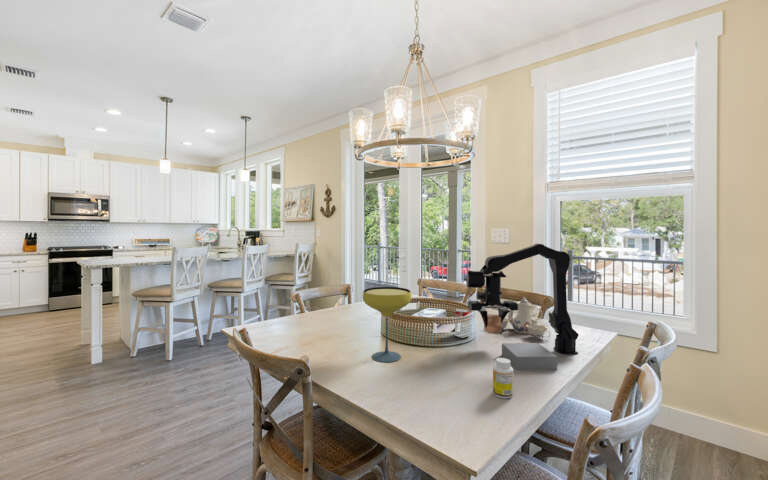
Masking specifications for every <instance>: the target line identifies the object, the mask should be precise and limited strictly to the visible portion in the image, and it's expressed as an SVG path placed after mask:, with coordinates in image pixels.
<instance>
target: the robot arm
mask: <svg viewBox="0 0 768 480" xmlns="http://www.w3.org/2000/svg"><path fill="white" fill-rule="evenodd" d="M537 255H540V256H541V257H543V258H545V259H547V260H548V264H549V267H550V269H551V272H552V280H553V281H552V282H553V283H552V284H553V286H552V287H553V291H552V292H553V310H552V312H548V318H549V319H548V323H549V324H550V326H551V328H553V330H554V332H555V333H556V334H555V339H554V347H553V350H554V351H556V352H558V353H560V354H561V355H578V354H579V352H578V351H577V350H576V345H577V344H576V341H577V340H578V337H579V333H578V332H577V331H576V330H575V329H574V328H573V324H572V320H571V317H570V314H569V312H568V304H567V303H568V302H567V300H568V299H567V297H568V296H567V272H568V271H569V268H570V263H571V256H570V254H569V253H568V252H566V251H562V250H555V249H553V248H551V247H548V246H547V245H545V244H543V243H535V244H533V245H530V246H528V247H524V248H522V249H518V250H515V251H513V252H509V253H506V254H497V255H492V256H491V255H490V256H488V257H486V258H485V261H484V264H483V266H482V267H481V269H479V270H475V271H474V270H467V274H466V278H465V282H466V283H465V285H466V288H468V289H469V288H470V289H471V288H472V289H473V288H474V289H476V288H477V289H482V288H483V287H484V286H485V289H484V292H483V291H476V300H469V301H468V302H467V308H468V309H469V310H471V311H472V312H473V311H477V312H478V313H480V315H481V318H482V322H483V326H484V325H485V327H487V314H488V311H487V310H486V308H487V309H494V308H495V309H497V311H498V314H497V315H498V316H500V317H501V324H502V322H503V320H504V318H506V316H508V313H509V312H510V310H514V311H518V304H517V302H516V301H513V300H503V302H502V301H501V295H502V293H503V292H502V291H501V290H502V289H501V287H502V286H501V285H502V284H501V283H502V282H501V281H502V279H501V278H506V277H507V275H506V274H504V272H503V270H504V269H505V268H507V267H509V266H510V265H512V264H513V263H518V262H520V261H523V260H526V259H530V258H533V257H535V256H537ZM478 300H479V301H478Z"/></svg>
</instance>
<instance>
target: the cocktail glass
mask: <svg viewBox="0 0 768 480" xmlns="http://www.w3.org/2000/svg"><path fill="white" fill-rule="evenodd" d="M411 300H412V291H411V289H409V288H405V287H404V288H403V287H398V286H396V287H395V286H377V287H368V288H366V289H363V291H362V301H363V302H364V304H366V306H368V307H370V308H372V309H373V310H375V311H377V312H380V314H381V315H382V316H383V317H384V318H385V348H384V350H382V351H377V352H375V353H373V354H372V355H371V357H372V359H373V360H374V361H376V362H379V363H395V362H398V361H400V359H401V358H402V355H401V354H399V352H396V351H391V350H389V343H388V341H389V340H388V339H389V337H388V336H389V335H388V334H389V333H388V331H389V330H388V327H389V326H388V322H389V320H388V319H390V318H391V316H392V314H394V313H395V312H397V311H399V310H401V309H403V308H405V307H406V306H408V305H409V303H411Z"/></svg>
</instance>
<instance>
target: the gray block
mask: <svg viewBox="0 0 768 480" xmlns="http://www.w3.org/2000/svg"><path fill="white" fill-rule="evenodd" d="M501 356H502V358H506V359H509V360H510V364H511V367H512V368H513V369H515V370H516V371H558V356H557V355H556V354H555V353H553V352H551V351H550V350H549V349H547V348H546V347H545V346H543V345H542V344H540V343H538V342H521V343H520V342H511V343H510V342H509V343H507V342H502V343H501Z"/></svg>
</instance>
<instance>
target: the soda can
mask: <svg viewBox="0 0 768 480" xmlns="http://www.w3.org/2000/svg"><path fill="white" fill-rule="evenodd" d="M467 314H470V312H469V310H468V309H466V308H456V309H454V313H453V318H454V317H460V316H465V315H467Z"/></svg>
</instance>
